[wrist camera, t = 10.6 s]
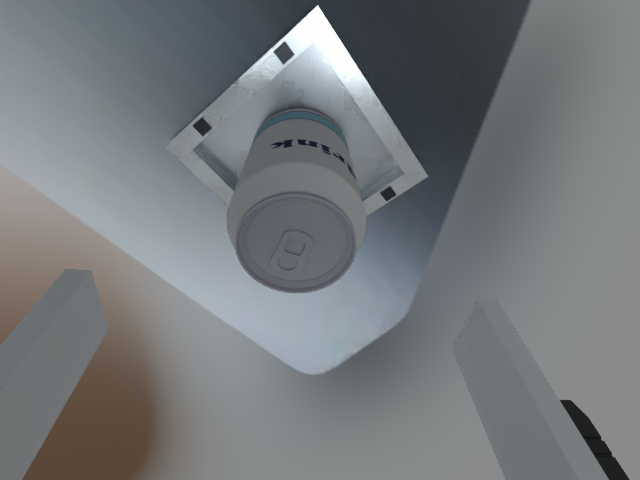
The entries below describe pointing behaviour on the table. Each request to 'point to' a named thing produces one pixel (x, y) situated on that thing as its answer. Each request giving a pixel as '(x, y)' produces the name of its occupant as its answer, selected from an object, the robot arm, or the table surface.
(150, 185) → the table surface
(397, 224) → the table surface
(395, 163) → the rail plate
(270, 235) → the beverage can
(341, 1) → the table surface
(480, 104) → the table surface
